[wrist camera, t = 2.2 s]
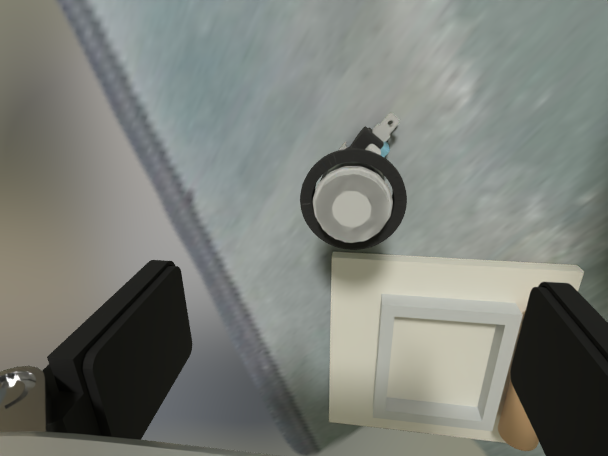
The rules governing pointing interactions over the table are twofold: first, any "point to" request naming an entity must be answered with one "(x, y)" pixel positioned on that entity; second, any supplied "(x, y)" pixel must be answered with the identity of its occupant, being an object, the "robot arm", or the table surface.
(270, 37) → the table surface
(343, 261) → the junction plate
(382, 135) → the push button
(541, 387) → the robot arm
